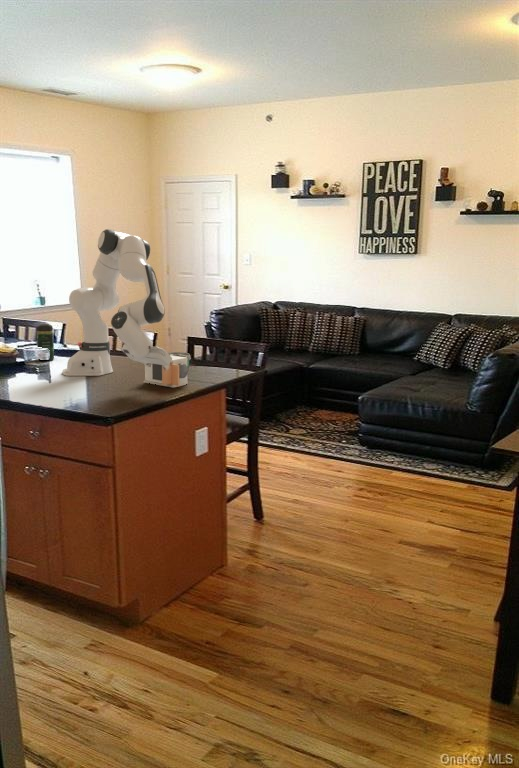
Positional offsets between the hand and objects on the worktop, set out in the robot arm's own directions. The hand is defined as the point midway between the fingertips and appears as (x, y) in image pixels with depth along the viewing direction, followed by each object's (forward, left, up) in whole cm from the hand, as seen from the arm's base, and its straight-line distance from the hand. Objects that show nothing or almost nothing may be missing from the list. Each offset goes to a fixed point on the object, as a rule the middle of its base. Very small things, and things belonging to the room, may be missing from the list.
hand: (158, 367), depth 260 cm
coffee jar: (-42, +87, -10) cm, 97 cm away
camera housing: (+6, +14, -10) cm, 18 cm away
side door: (+4, +3, -8) cm, 10 cm away
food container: (+16, +32, -10) cm, 37 cm away
